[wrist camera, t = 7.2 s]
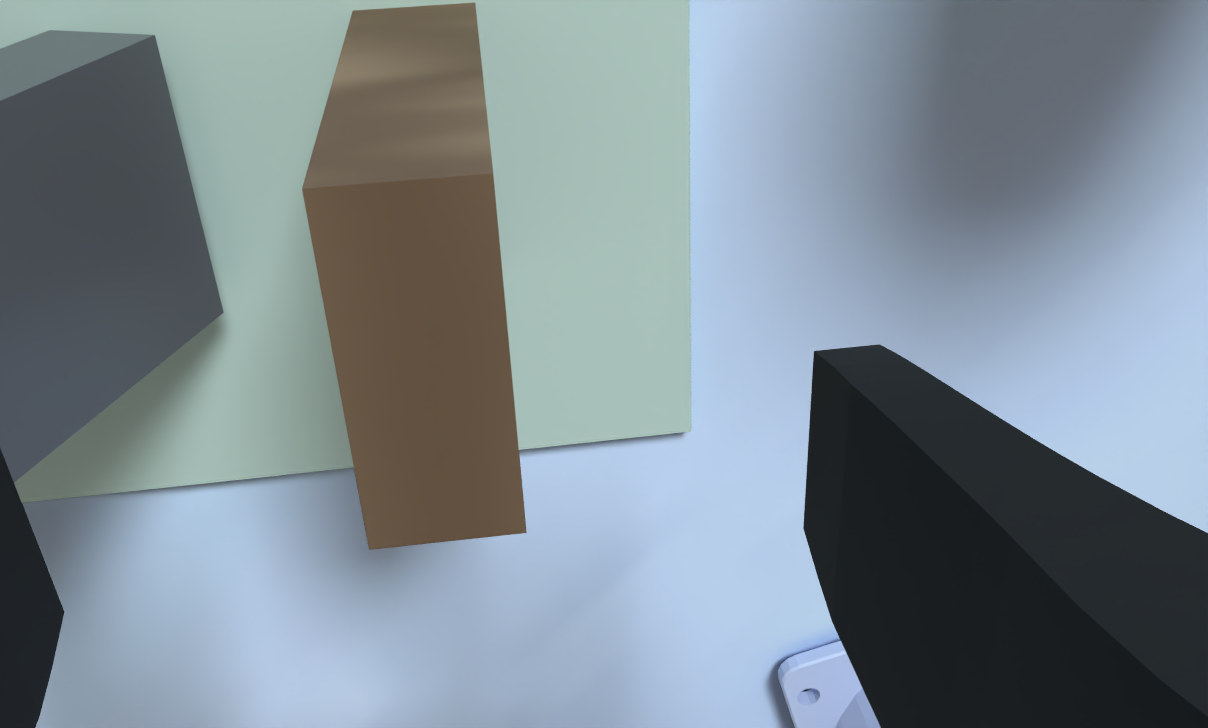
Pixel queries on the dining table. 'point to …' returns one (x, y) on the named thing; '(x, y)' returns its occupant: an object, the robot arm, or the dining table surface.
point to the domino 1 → (90, 234)
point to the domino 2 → (416, 278)
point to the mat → (524, 211)
